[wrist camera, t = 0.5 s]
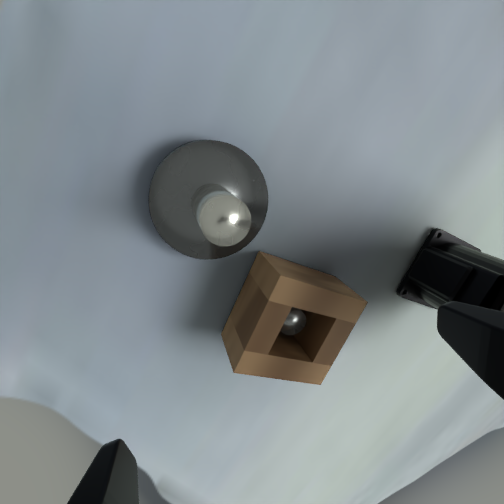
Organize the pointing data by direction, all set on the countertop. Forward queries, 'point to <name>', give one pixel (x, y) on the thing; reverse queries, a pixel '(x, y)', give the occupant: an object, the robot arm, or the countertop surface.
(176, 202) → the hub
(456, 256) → the robot arm
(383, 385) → the countertop surface
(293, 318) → the grey metal cylinder
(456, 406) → the countertop surface
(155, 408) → the countertop surface
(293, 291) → the wooden square frame
